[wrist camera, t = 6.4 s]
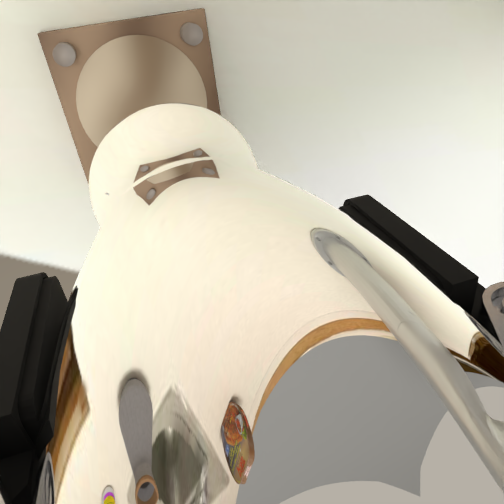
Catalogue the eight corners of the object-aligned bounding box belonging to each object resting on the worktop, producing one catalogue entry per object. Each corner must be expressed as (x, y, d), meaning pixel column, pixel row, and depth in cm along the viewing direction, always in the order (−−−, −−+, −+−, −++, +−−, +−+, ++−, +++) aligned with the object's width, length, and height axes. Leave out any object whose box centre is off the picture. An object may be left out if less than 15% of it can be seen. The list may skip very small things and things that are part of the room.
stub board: (200, 8, 28) (209, 9, 26) (224, 156, 34) (232, 167, 32) (39, 32, 27) (34, 36, 24) (91, 184, 32) (90, 198, 30)
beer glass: (237, 58, 15) (984, 403, 2) (283, 229, 19) (656, 707, 6) (34, 130, 14) (-491, 1192, 2) (126, 293, 18) (183, 976, 5)
